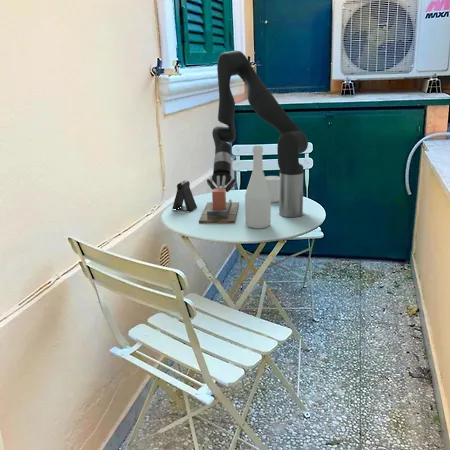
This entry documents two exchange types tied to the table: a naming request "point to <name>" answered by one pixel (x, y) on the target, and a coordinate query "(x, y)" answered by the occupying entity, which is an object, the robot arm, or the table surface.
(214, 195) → the orange upright block
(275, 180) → the mug
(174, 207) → the black a-frame stand
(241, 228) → the table surface
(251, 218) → the wine bottle
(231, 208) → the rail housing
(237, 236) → the table surface
